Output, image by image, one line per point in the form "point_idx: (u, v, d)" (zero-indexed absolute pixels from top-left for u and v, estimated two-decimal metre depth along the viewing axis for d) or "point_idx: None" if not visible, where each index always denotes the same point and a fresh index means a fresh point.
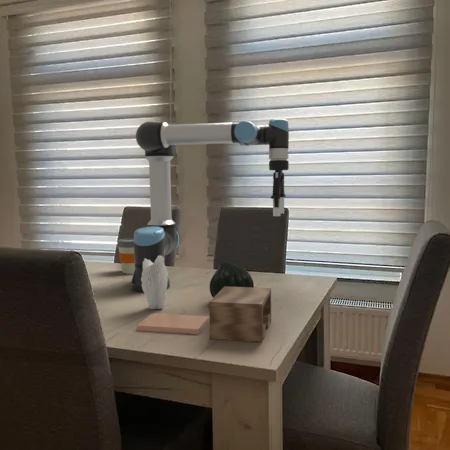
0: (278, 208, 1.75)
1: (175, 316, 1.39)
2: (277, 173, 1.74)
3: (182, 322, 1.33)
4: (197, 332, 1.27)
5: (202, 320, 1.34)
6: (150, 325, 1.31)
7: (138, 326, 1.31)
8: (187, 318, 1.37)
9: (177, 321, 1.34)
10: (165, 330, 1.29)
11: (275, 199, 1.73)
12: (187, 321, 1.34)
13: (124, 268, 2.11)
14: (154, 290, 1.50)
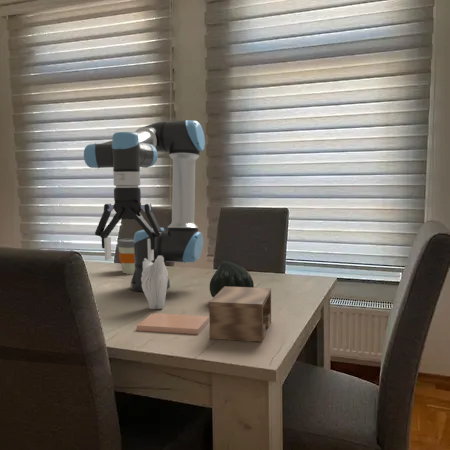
0: None
1: (175, 316, 1.39)
2: None
3: (182, 322, 1.33)
4: (197, 332, 1.27)
5: (202, 320, 1.34)
6: (150, 325, 1.31)
7: (138, 326, 1.31)
8: (187, 318, 1.37)
9: (177, 321, 1.34)
10: (165, 330, 1.29)
11: None
12: (187, 321, 1.34)
13: (124, 268, 2.11)
14: (154, 290, 1.50)
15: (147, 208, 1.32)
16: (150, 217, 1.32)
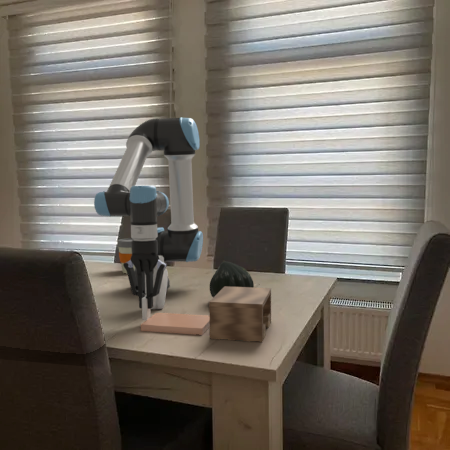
0: None
1: (180, 315, 1.39)
2: None
3: (186, 321, 1.33)
4: (201, 331, 1.26)
5: (206, 319, 1.34)
6: (154, 324, 1.30)
7: (142, 325, 1.30)
8: (191, 317, 1.37)
9: (181, 320, 1.33)
10: (169, 329, 1.29)
11: None
12: (191, 321, 1.33)
13: (124, 268, 2.11)
14: None
15: (161, 268, 1.32)
16: (158, 277, 1.33)
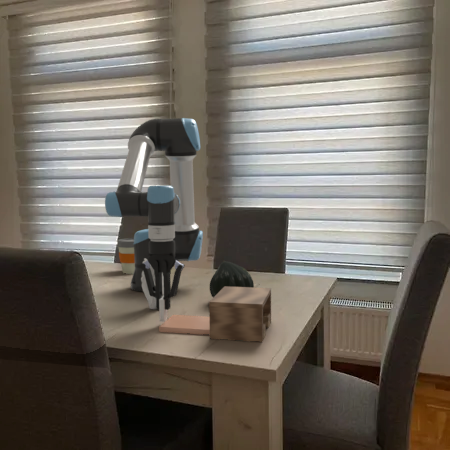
0: None
1: (197, 317, 1.38)
2: None
3: (204, 323, 1.32)
4: None
5: None
6: (172, 326, 1.29)
7: (160, 327, 1.29)
8: (209, 319, 1.36)
9: (199, 322, 1.33)
10: (188, 332, 1.28)
11: None
12: (209, 323, 1.32)
13: (124, 268, 2.11)
14: None
15: (179, 269, 1.31)
16: (176, 278, 1.32)
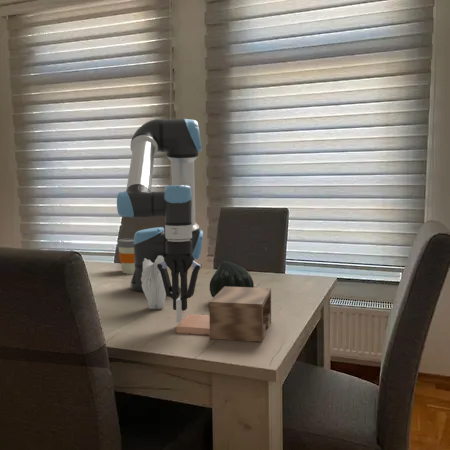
0: None
1: None
2: None
3: None
4: None
5: None
6: (190, 326, 1.28)
7: (178, 327, 1.28)
8: None
9: None
10: (206, 331, 1.27)
11: None
12: None
13: (124, 268, 2.11)
14: (154, 290, 1.50)
15: (196, 269, 1.30)
16: (193, 278, 1.31)
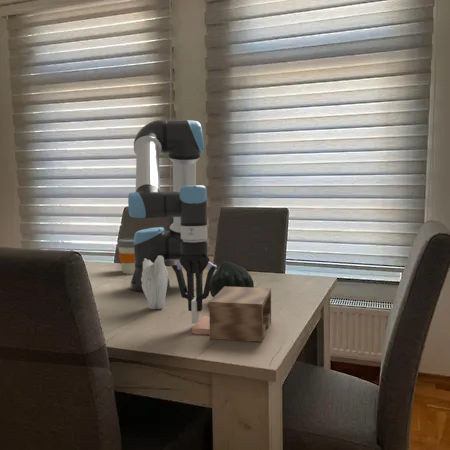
0: None
1: None
2: None
3: None
4: None
5: None
6: (206, 328, 1.28)
7: (194, 329, 1.27)
8: None
9: None
10: None
11: None
12: None
13: (124, 268, 2.11)
14: (154, 290, 1.50)
15: (212, 270, 1.29)
16: (209, 279, 1.30)
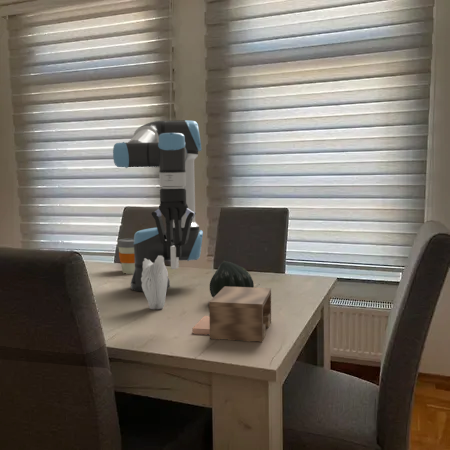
0: None
1: None
2: None
3: None
4: None
5: None
6: (206, 328, 1.28)
7: (194, 329, 1.27)
8: None
9: None
10: None
11: None
12: None
13: (124, 268, 2.11)
14: (154, 290, 1.50)
15: (190, 216, 1.33)
16: (187, 225, 1.33)
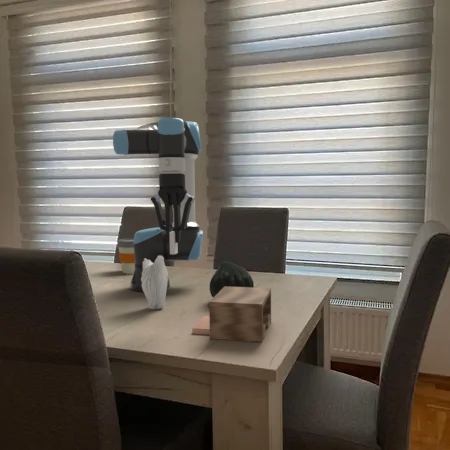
0: None
1: None
2: None
3: None
4: None
5: None
6: (206, 328, 1.28)
7: (194, 329, 1.27)
8: None
9: None
10: None
11: None
12: None
13: (124, 268, 2.11)
14: (154, 290, 1.50)
15: (189, 201, 1.33)
16: (186, 210, 1.33)
